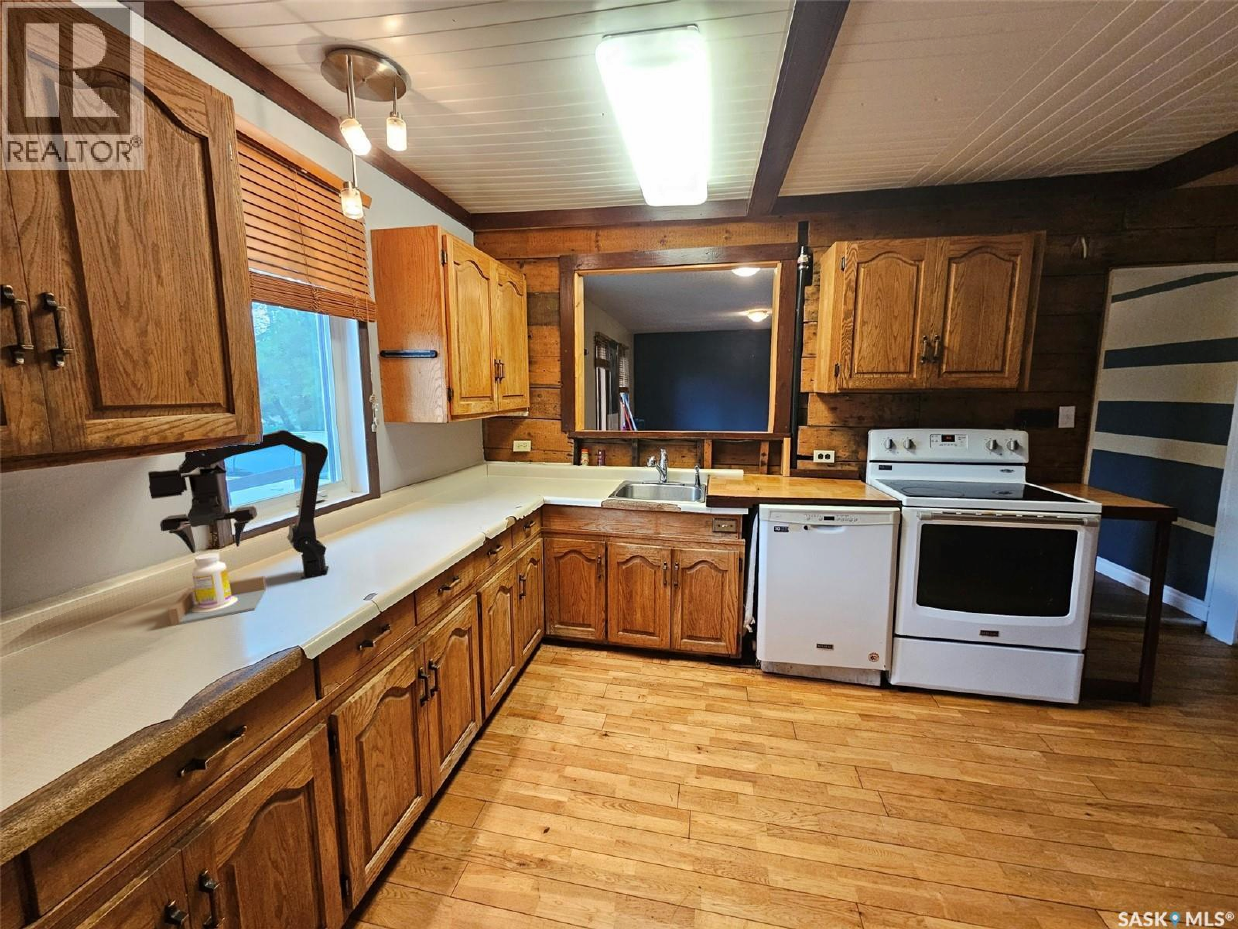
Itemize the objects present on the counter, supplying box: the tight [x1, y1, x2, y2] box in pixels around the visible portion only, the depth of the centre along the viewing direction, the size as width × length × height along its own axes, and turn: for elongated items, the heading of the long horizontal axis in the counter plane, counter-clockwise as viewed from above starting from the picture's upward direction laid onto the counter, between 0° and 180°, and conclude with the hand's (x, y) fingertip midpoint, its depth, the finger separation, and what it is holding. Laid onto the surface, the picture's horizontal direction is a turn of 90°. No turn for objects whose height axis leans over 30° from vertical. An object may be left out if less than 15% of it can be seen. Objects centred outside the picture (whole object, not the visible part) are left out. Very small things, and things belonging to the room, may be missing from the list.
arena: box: [168, 575, 267, 627], centre depth 122 cm, size 14×16×4 cm
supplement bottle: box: [191, 552, 232, 609], centre depth 121 cm, size 7×7×13 cm
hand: (216, 549), depth 127 cm, fingers open, 9 cm apart
